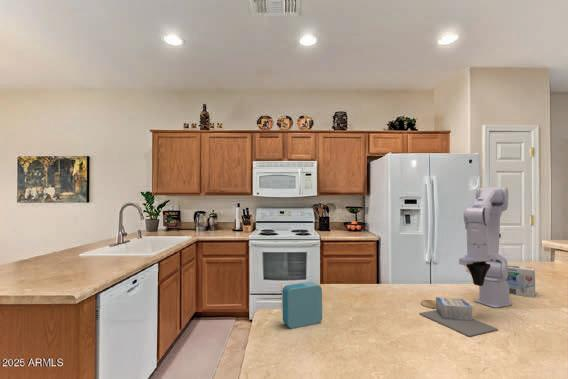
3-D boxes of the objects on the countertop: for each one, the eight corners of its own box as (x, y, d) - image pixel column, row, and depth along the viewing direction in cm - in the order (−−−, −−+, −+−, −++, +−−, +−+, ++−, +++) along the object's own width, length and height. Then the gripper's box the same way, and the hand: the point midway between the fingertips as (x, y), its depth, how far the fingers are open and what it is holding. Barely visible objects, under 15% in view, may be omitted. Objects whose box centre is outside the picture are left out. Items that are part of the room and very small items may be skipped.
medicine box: (472, 306, 93) (442, 304, 95) (472, 321, 93) (442, 318, 95) (463, 298, 101) (435, 296, 103) (463, 311, 101) (435, 309, 102)
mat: (445, 309, 104) (445, 308, 104) (498, 330, 87) (498, 328, 87) (419, 314, 100) (419, 313, 100) (469, 337, 83) (469, 335, 83)
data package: (315, 317, 98) (315, 281, 98) (322, 322, 94) (322, 284, 94) (282, 324, 93) (281, 285, 93) (288, 329, 89) (287, 289, 89)
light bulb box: (501, 292, 122) (500, 266, 122) (503, 289, 127) (502, 263, 127) (535, 298, 115) (534, 270, 115) (535, 294, 120) (534, 267, 120)
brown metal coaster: (432, 300, 114) (432, 298, 114) (450, 307, 106) (450, 305, 106) (416, 302, 111) (415, 301, 111) (433, 310, 103) (433, 308, 103)
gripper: (480, 240, 104) (481, 279, 104) (450, 243, 99) (451, 284, 99) (501, 243, 98) (502, 285, 97) (470, 246, 92) (471, 290, 92)
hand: (478, 285), depth 97 cm, fingers closed
